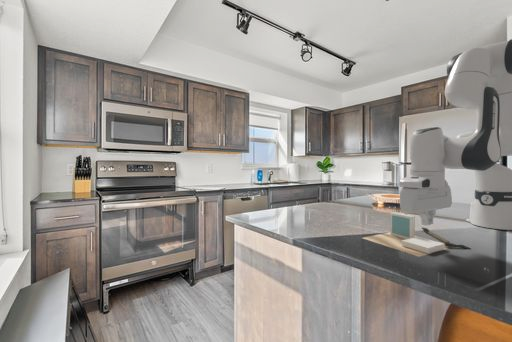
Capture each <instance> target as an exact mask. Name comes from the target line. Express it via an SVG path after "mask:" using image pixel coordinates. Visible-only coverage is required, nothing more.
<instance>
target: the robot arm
mask: <svg viewBox="0 0 512 342" xmlns="http://www.w3.org/2000/svg"><path fill="white" fill-rule="evenodd" d="M446 65H447V66H446V75H447V81H446V84H445V87H444V96H445V97H444V98H445V100H446V101H447V102H448V103H449V104H451V105H452V106H454V107H457V108H460V109H463V110H464V109H466V110H474V111H475V115H476V116H475V117H476V119H475V130H471V131H466V132H461V133H458V134H457V136H456V137H453V138H452V137H450V138H449V137H448V136H446V135H444V133H443V129H442V128H441V127H439V126H435V127H427V128H421V129H418V130H415V131H414V132H412V134H411V138H410V143H409V159H410V163H411V165H410V169H409V174H408V175H406V176H405V177H404V178H402V179H400V180H399V183H398V184H399V187H400V188H401V189H400V191H399V208H400V210H401V212H402V213H403V214H404V213H405V214H409V215H411V214H412V215H413V214H418V216H419V217H420V220H421V225H422V226H429V225H433V224H434V218H435V216H436V214H437V210H442V209H448V208H451V206H452V204H453V201H452V200H453V198H452V190H451V187H450V185H449V183H448V182H447V180H446V179H445V178H446V176H445V175H446V173H445V172H446V170H445V169H450V170H471V171H474V174H475V188H476V189H475V190H474V201H472V202H471V203H470V212H469V218H466V220H465V221H466V222H468V223H470V224H472V225H474V226H478V227H482V228H487V229H495V230H506V231H512V169H511V168H509V167H508V166H505V165H502V164H500V163H498V162H499V161H500V160H501V157H507V156H509V157H510V156H512V38H511V39H509V40H507V41H499V42H496V43H495V42H494V43H490V44H485V45H484V46H481V47H472V48H469V49H467V50H465V51H463V52H460V53H458V54H455V55H454V56H452V57H451V58H450V60H449V61H447V64H446Z"/></svg>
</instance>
